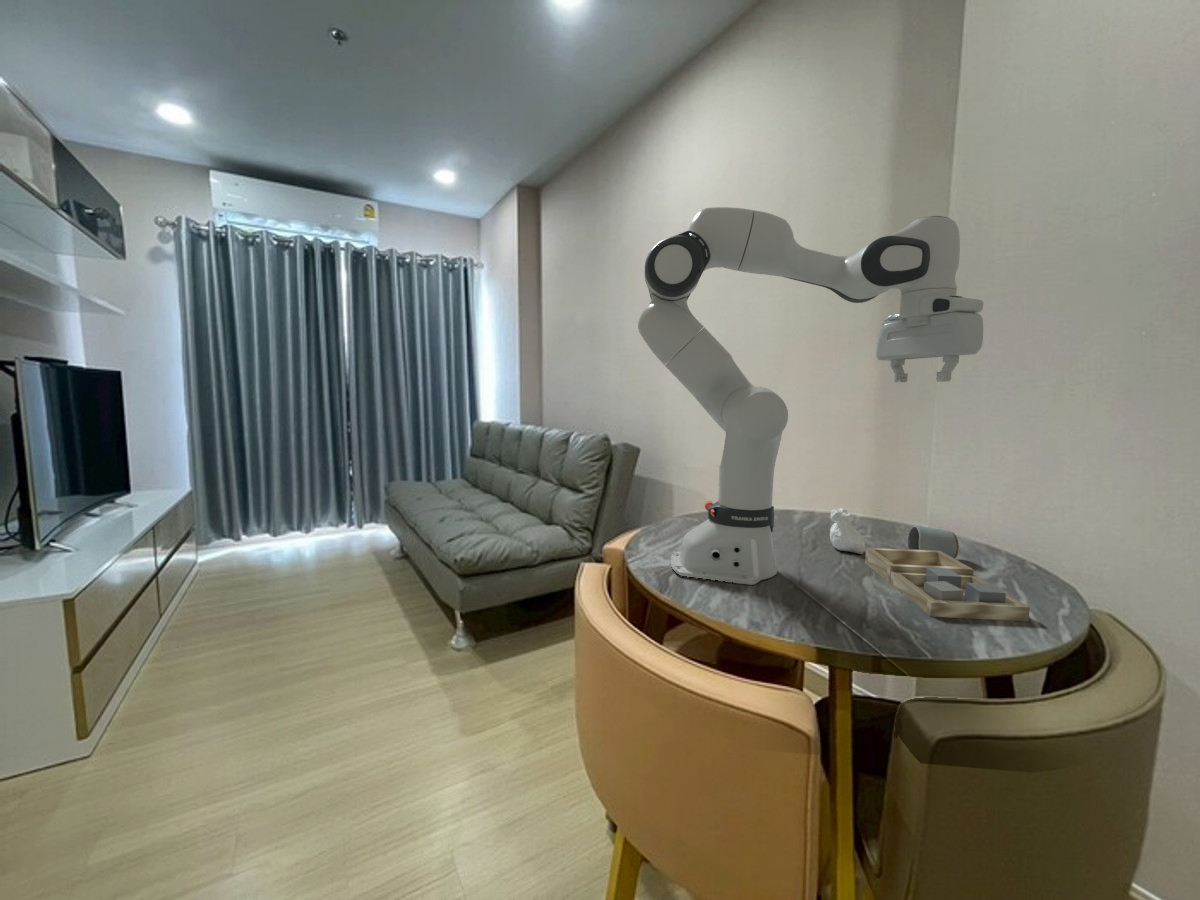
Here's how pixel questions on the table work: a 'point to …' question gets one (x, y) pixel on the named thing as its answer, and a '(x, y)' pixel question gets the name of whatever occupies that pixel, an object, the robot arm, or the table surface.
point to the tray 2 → (914, 591)
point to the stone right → (983, 593)
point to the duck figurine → (845, 532)
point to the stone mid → (943, 576)
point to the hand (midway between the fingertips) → (920, 382)
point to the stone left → (943, 591)
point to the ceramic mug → (933, 540)
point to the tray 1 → (911, 561)
